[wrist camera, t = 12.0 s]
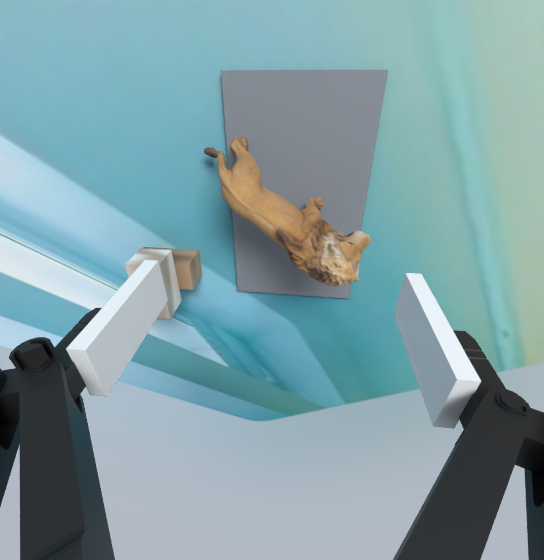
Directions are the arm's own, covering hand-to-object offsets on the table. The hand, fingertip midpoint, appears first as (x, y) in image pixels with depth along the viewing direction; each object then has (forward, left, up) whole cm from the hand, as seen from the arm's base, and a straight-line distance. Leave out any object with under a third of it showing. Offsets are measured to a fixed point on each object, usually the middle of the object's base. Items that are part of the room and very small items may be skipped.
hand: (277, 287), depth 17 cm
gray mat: (0, 0, -14) cm, 14 cm away
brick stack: (-13, -7, -14) cm, 20 cm away
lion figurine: (0, +1, -13) cm, 13 cm away
